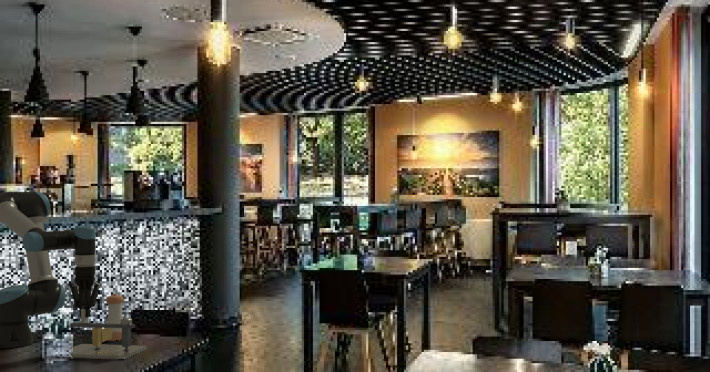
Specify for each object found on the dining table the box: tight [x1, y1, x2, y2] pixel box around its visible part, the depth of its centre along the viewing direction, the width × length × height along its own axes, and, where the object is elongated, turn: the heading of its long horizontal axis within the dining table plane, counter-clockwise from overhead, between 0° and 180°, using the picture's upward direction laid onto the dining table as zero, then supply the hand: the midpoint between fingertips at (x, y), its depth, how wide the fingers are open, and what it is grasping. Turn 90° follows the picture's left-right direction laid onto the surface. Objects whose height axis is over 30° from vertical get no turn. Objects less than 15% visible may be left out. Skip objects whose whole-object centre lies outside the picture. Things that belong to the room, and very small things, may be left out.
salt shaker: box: [105, 292, 125, 342], centre depth 281 cm, size 7×7×19 cm
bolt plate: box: [71, 343, 148, 361], centre depth 256 cm, size 28×16×2 cm, turn 79°
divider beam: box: [69, 317, 136, 349], centre depth 256 cm, size 26×4×11 cm, turn 79°
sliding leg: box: [91, 327, 112, 348], centre depth 260 cm, size 3×9×8 cm, turn 169°
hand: (84, 325), depth 264 cm, fingers closed
